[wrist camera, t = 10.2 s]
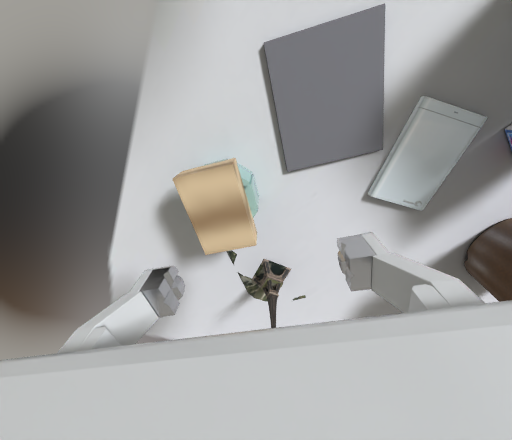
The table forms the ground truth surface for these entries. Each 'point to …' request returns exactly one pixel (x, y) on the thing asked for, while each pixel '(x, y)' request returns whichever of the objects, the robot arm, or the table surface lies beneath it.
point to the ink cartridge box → (509, 134)
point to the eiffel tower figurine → (265, 283)
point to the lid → (217, 206)
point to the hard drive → (425, 152)
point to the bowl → (248, 187)
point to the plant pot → (493, 260)
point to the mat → (330, 88)
